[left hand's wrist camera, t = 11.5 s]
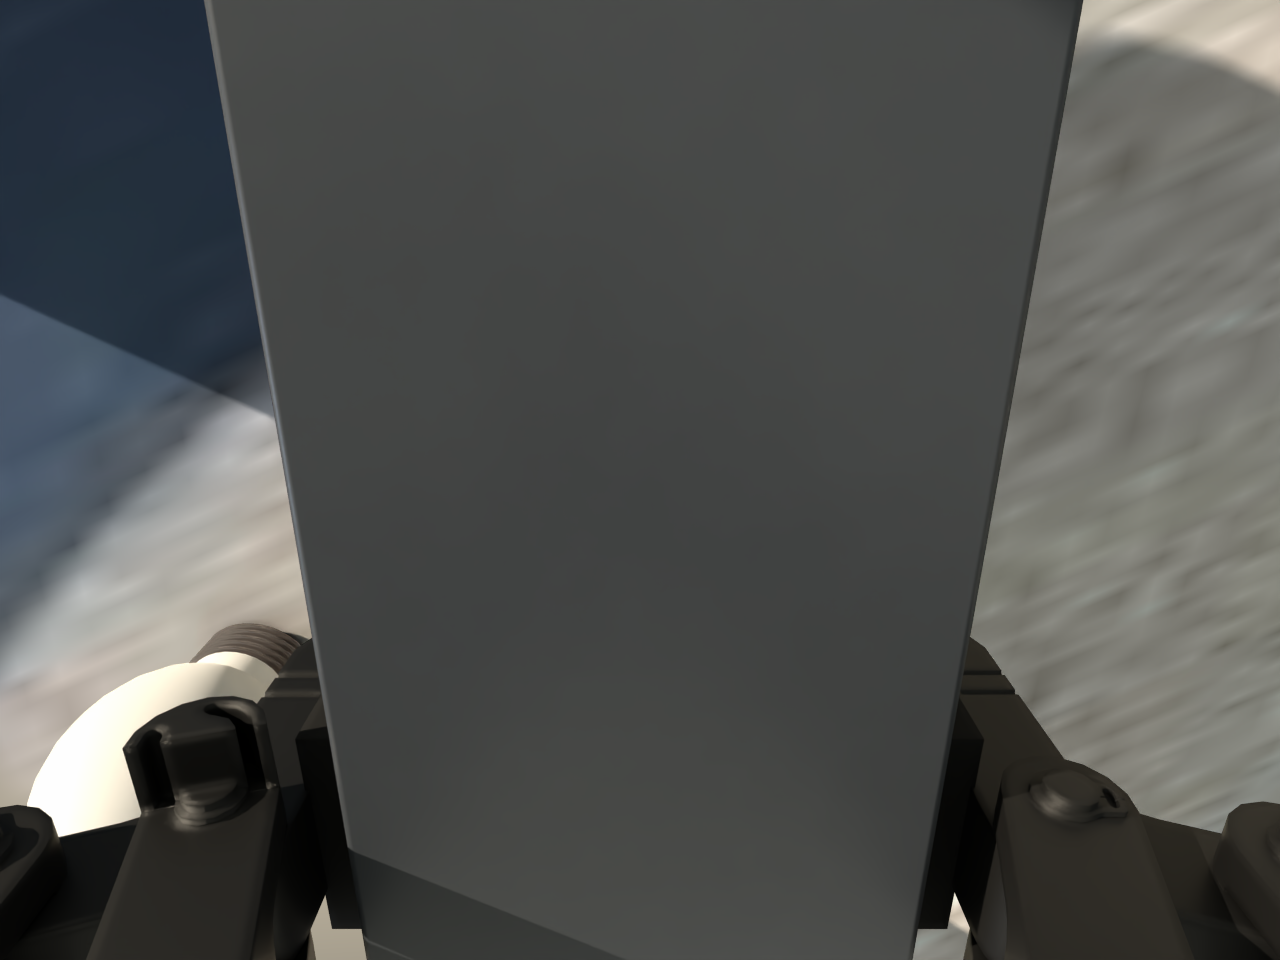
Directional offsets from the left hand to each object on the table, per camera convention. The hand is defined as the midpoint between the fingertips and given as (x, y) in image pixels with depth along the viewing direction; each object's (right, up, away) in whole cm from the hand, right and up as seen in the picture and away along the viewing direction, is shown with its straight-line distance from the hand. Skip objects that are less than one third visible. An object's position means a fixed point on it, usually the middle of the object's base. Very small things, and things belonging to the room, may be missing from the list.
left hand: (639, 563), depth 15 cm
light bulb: (-15, -6, +17) cm, 23 cm away
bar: (0, +27, -10) cm, 29 cm away
